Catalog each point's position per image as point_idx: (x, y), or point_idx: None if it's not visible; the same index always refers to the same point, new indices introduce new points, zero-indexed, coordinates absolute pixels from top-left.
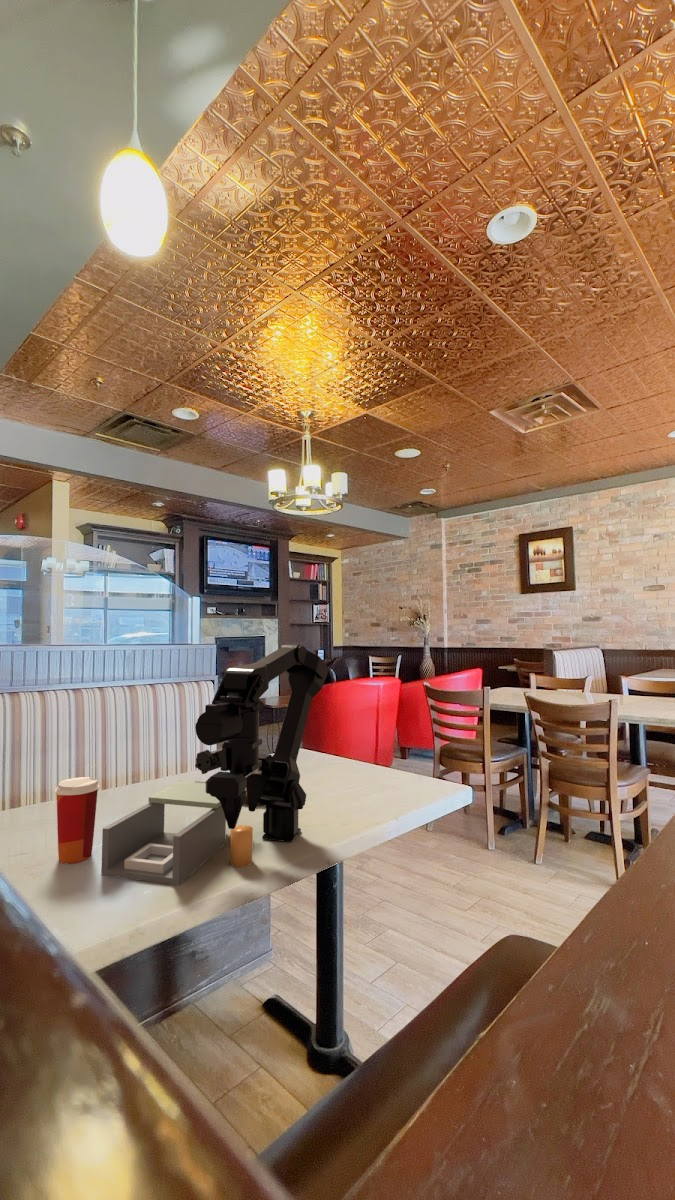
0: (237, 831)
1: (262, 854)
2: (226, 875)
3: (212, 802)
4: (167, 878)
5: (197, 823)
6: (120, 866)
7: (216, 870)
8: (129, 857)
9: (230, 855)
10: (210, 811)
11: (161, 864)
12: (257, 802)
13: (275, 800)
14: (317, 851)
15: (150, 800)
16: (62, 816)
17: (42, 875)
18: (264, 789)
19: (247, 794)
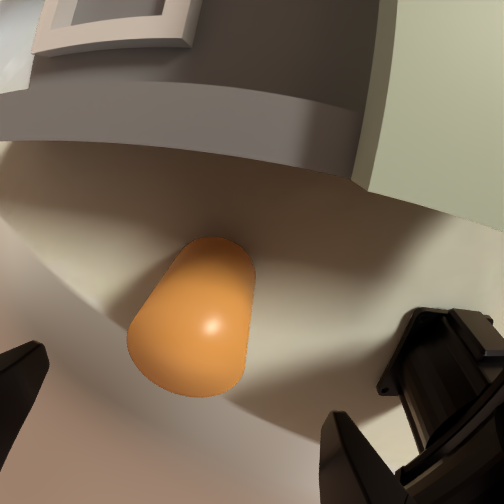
0: (145, 341)
1: (288, 331)
2: (110, 249)
3: (405, 117)
4: (30, 88)
5: (3, 137)
6: None
7: (134, 204)
8: None
9: (187, 251)
10: (285, 119)
11: (33, 46)
12: (321, 486)
13: (433, 467)
14: (308, 439)
15: None
16: None
17: None
18: (467, 487)
19: (363, 495)
